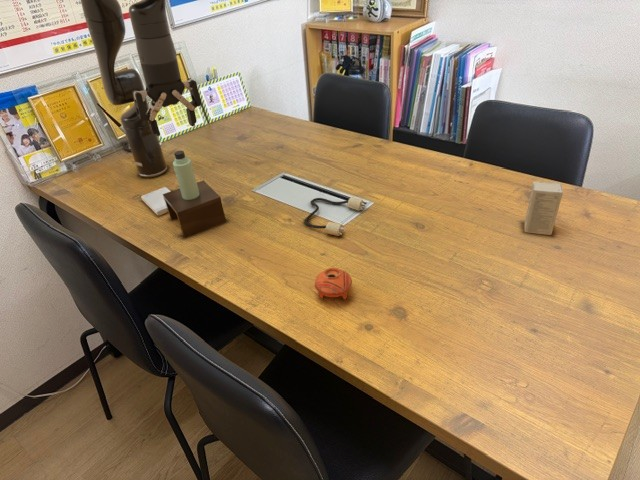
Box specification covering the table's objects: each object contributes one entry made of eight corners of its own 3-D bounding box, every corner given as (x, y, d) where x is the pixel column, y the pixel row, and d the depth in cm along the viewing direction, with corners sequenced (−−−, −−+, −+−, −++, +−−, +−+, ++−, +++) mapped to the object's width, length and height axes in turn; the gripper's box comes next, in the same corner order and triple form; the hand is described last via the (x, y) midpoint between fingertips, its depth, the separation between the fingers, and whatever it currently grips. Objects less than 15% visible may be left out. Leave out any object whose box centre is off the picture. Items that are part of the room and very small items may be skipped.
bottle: (180, 194, 121) (167, 152, 113) (196, 189, 123) (184, 146, 115) (185, 201, 118) (173, 158, 110) (202, 195, 120) (190, 152, 112)
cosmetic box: (550, 226, 111) (562, 183, 104) (551, 236, 108) (564, 192, 101) (523, 222, 113) (533, 180, 106) (523, 232, 110) (533, 189, 103)
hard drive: (140, 196, 135) (156, 211, 127) (166, 186, 139) (182, 200, 131) (142, 200, 136) (158, 216, 128) (167, 190, 140) (184, 205, 132)
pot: (327, 312, 92) (320, 284, 89) (313, 296, 99) (307, 270, 96) (361, 298, 94) (355, 271, 92) (345, 284, 101) (340, 257, 98)
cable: (288, 227, 119) (287, 216, 117) (316, 198, 130) (315, 187, 128) (341, 240, 113) (341, 229, 110) (366, 208, 124) (366, 197, 122)
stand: (170, 218, 127) (162, 194, 122) (209, 204, 132) (203, 180, 127) (184, 237, 118) (177, 212, 114) (226, 221, 123) (220, 196, 119)
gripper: (183, 48, 100) (196, 117, 110) (118, 60, 94) (139, 132, 104) (196, 55, 95) (209, 127, 105) (129, 68, 89) (150, 143, 99)
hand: (175, 130), depth 104 cm, fingers open, 8 cm apart
